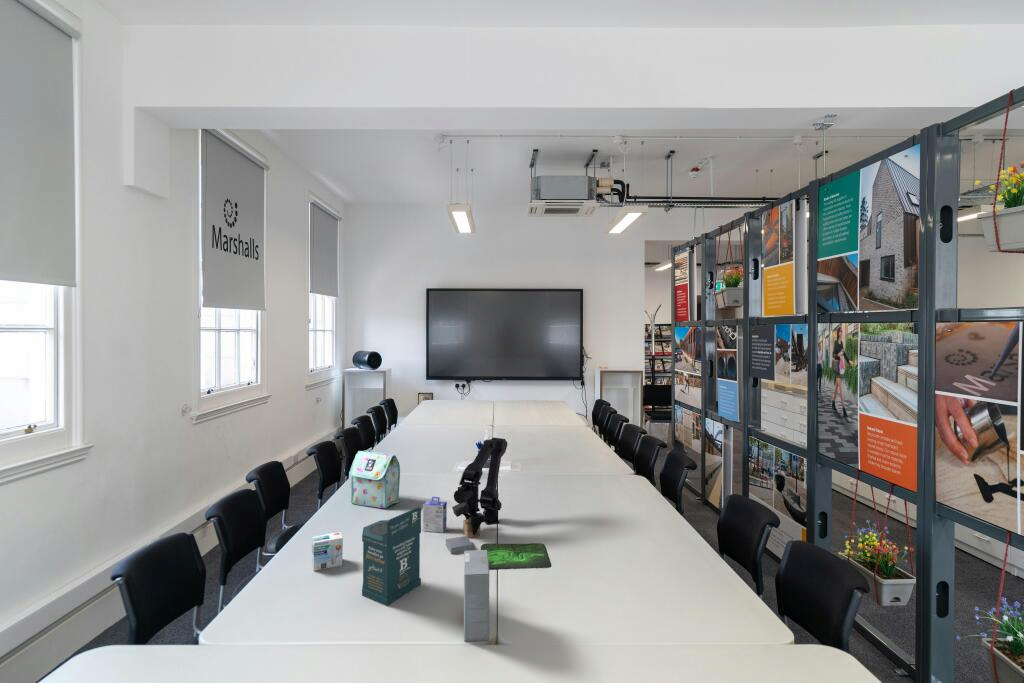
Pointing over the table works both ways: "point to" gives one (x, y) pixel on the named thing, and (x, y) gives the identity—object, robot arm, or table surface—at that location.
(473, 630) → the hard drive box
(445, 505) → the ink cartridge box
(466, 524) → the walnut block
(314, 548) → the light bulb box
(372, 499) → the lunch bag
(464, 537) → the base slab
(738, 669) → the table surface
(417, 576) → the donation box
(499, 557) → the mouse mat
